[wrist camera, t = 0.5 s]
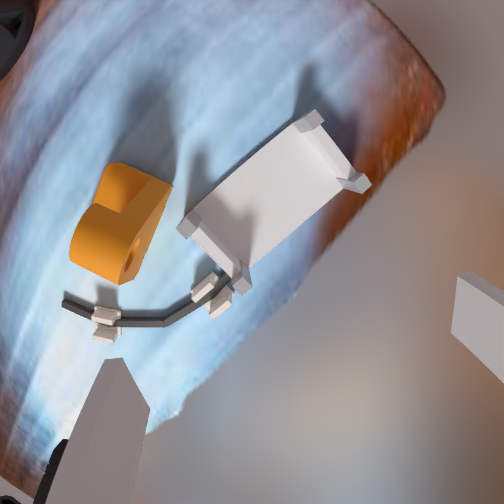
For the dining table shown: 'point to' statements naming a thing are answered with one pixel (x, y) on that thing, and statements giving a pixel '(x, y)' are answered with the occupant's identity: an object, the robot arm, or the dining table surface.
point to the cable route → (111, 321)
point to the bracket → (119, 223)
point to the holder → (270, 197)
